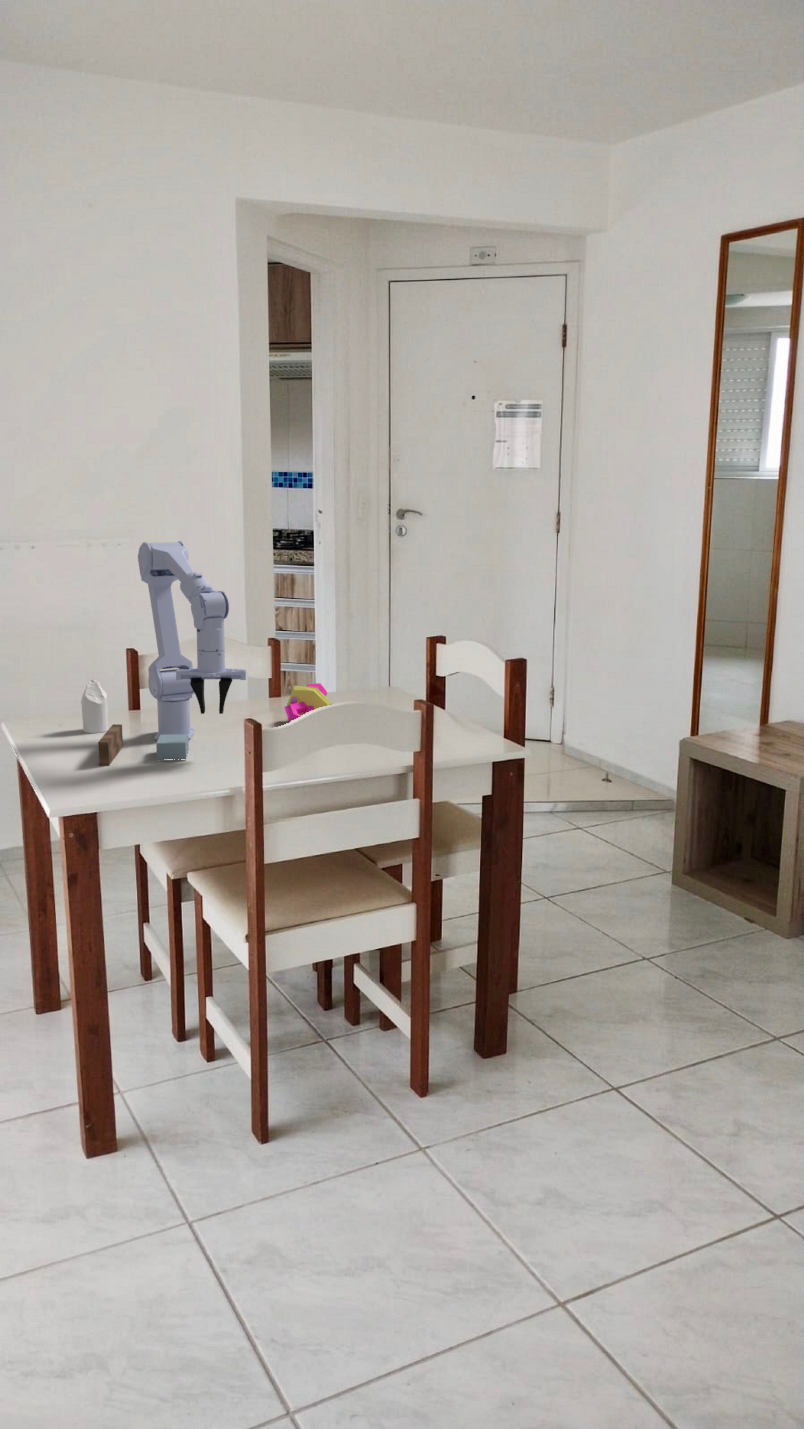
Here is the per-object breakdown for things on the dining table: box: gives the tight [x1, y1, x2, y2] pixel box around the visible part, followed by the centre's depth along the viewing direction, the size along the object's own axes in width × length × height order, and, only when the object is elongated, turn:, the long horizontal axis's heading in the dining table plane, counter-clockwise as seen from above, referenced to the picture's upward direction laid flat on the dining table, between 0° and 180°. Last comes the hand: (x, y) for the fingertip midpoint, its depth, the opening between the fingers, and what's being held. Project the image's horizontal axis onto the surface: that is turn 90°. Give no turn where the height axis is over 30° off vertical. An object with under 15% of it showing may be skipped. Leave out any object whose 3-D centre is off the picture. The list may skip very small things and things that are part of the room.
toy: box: [283, 682, 333, 722], centre depth 273 cm, size 10×18×10 cm, turn 167°
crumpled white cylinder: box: [80, 679, 109, 734], centre depth 261 cm, size 6×12×6 cm
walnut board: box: [97, 723, 124, 767], centre depth 239 cm, size 16×2×5 cm, turn 4°
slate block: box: [155, 734, 190, 761], centre depth 240 cm, size 8×6×4 cm
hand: (212, 712), depth 239 cm, fingers open, 3 cm apart
